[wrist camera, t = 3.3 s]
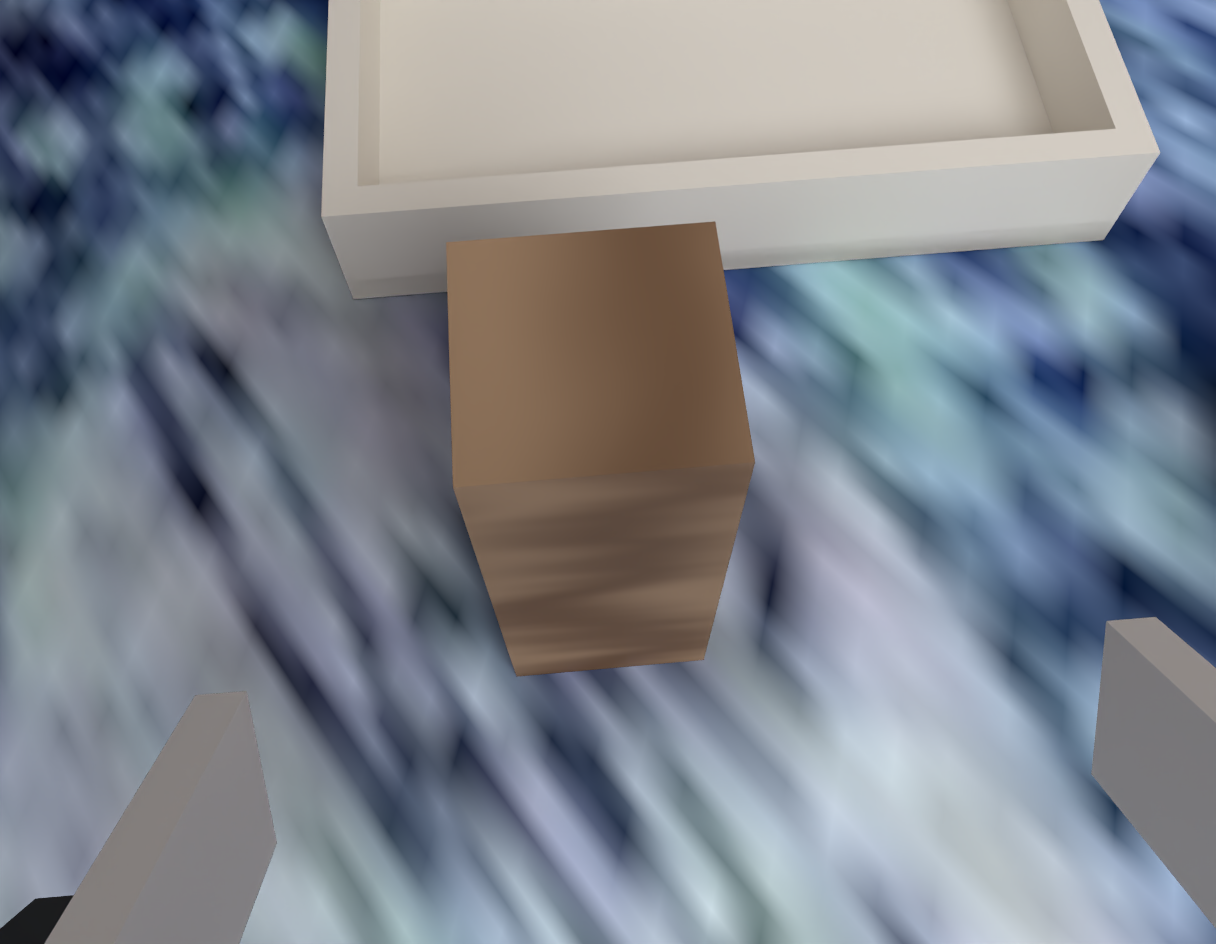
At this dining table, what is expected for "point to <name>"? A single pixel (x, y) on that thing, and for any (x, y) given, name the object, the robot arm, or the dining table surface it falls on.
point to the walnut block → (598, 439)
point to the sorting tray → (722, 127)
